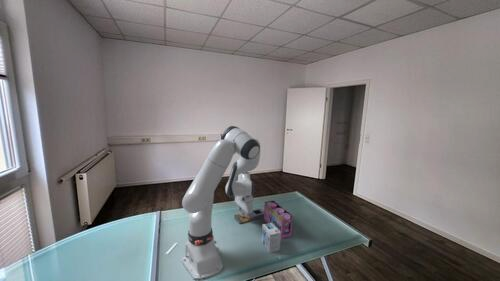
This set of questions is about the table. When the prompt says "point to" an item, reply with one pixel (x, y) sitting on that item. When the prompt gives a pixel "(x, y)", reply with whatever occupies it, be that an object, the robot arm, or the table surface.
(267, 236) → the light bulb box
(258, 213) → the rail
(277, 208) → the pink product box
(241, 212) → the nut
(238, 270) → the table surface
